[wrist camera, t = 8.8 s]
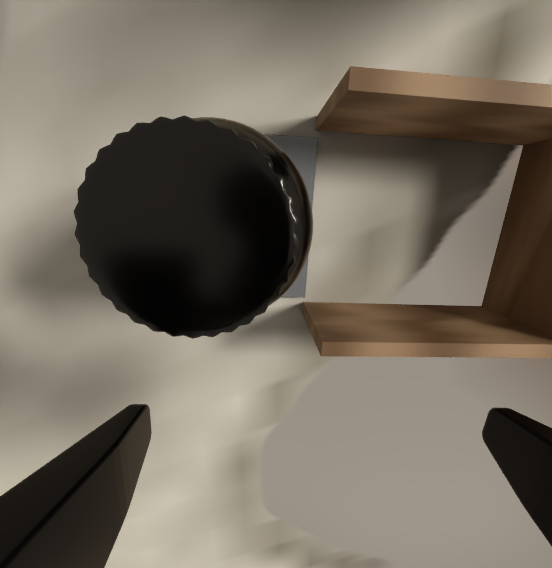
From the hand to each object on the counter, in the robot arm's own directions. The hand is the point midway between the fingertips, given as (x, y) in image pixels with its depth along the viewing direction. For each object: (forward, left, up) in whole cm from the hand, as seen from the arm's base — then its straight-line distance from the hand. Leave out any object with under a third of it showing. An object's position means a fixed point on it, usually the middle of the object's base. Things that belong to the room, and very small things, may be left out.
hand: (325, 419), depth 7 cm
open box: (-8, +5, -13) cm, 16 cm away
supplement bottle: (-2, -5, -12) cm, 14 cm away
